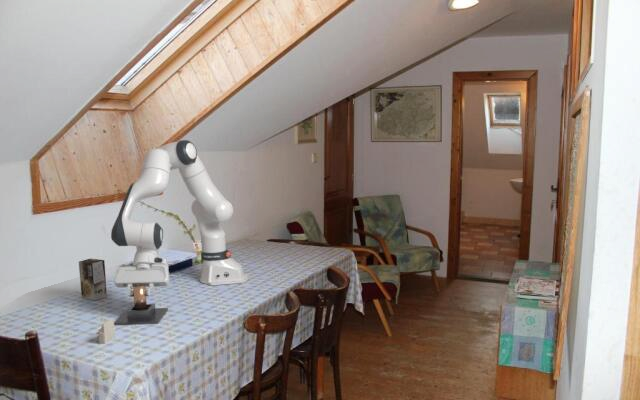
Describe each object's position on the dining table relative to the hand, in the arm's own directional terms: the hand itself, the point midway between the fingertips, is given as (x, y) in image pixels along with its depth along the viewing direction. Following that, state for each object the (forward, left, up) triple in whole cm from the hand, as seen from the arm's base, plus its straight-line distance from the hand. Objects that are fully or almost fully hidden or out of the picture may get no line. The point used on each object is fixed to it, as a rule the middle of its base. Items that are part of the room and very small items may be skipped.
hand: (139, 295), depth 210 cm
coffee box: (+28, -30, -9) cm, 42 cm away
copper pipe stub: (0, -1, -5) cm, 5 cm away
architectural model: (+5, +23, -9) cm, 25 cm away
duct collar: (0, -1, -8) cm, 9 cm away
